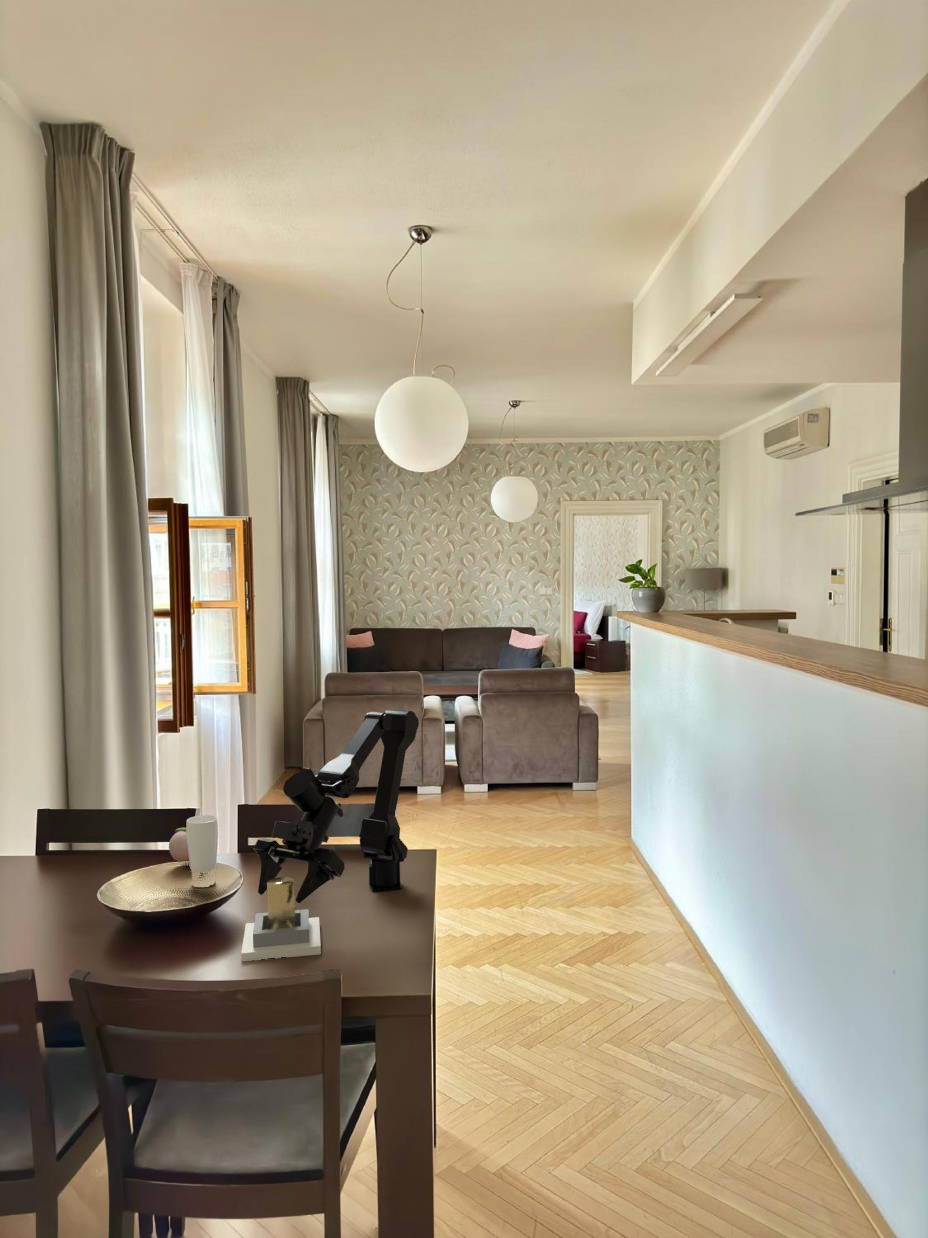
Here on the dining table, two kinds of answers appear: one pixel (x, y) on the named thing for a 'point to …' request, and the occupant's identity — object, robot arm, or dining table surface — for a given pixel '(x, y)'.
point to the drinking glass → (202, 842)
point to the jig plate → (281, 938)
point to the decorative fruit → (179, 845)
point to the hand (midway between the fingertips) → (278, 898)
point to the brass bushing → (281, 903)
